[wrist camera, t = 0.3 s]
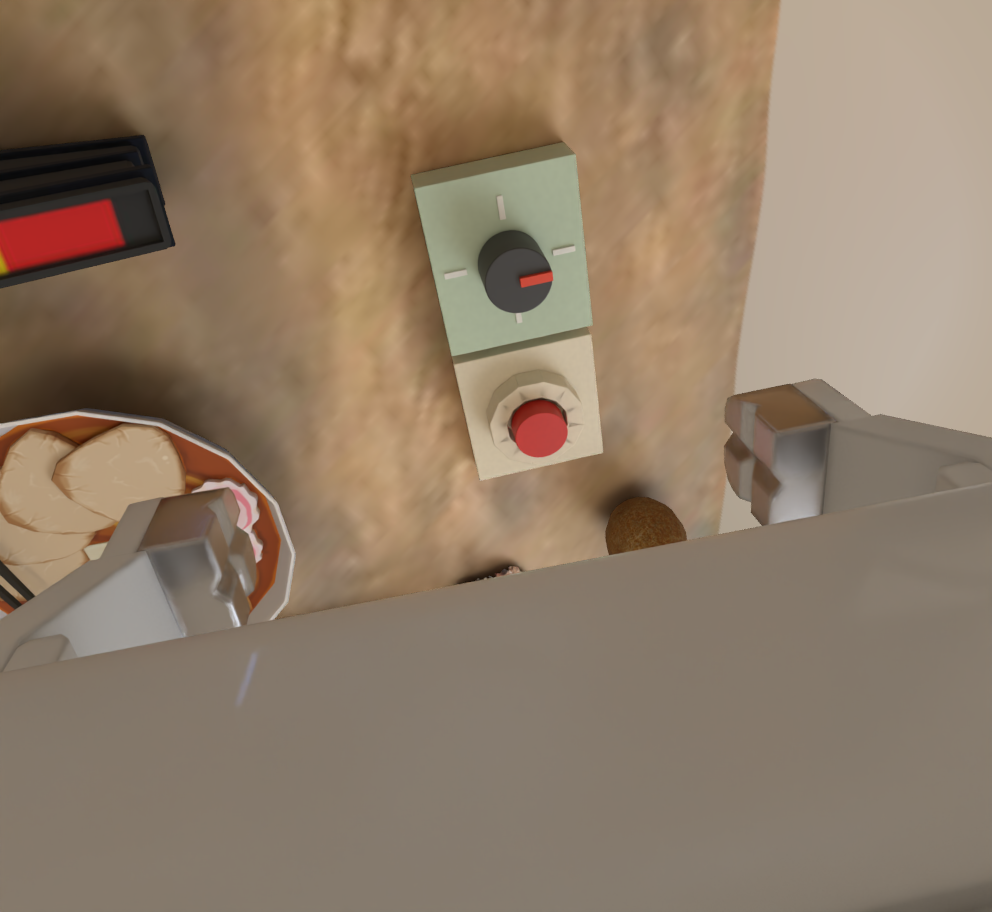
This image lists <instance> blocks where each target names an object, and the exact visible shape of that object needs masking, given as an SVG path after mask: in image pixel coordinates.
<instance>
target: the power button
mask: <svg viewBox="0 0 992 912" xmlns="http://www.w3.org/2000/svg"><path fill="white" fill-rule="evenodd" d="M511 427H512V432H513V435H514V438H515V441H516V444H517V446H518V448H519V449H520V450H521V451H522V452H523V453H524V454H526V455H528V456H531V457H546V456H549V455H552V454H553V453H555V452H557V451H558V450H559V449H560V448H561V447H562V446H563V445H564V443H565V441H566V439H567V435H568V429H567V425H566V423H565V421H564V418H563V416H562V414H561V411H560V410H559V408H558V407H557V406H556V405H555V404H553V403H551V402H549V401H546V400H534V401H530V402H528V403H526V404H524V405H522V406H521V407H520V408H519V409H518V410H517V411H516V412H515V414H514V416H513V418H512V422H511Z"/></svg>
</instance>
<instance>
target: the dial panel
mask: <svg viewBox="0 0 992 912" xmlns="http://www.w3.org/2000/svg"><path fill="white" fill-rule="evenodd" d="M411 179H412V184H413V188H414V192H415V197H416V201H417V206H418V210H419V215H420V219H421V223H422V228H423V232H424V237H425V241H426V246H427V250H428V255H429V259H430V263H431V268H432V272H433V277H434V281H435V286H436V290H437V294H438V299H439V303H440V308H441V312H442V317H443V321H444V325H445V330H446V334H447V339H448V343H449V347H450V352H451V356H457V355H461V354H466V353H470V352H475V351H479V350H484V349H488V348H493V347H497V346H502V345H506V344H511V343H515V342H520V341H524V340H529V339H533V338H538V337H542V336H547V335H551V334H556V333H560V332H565V331H569V330H574V329H578V328H583V327H587V326H592V325H593V322H592V312H591V302H590V292H589V282H588V272H587V263H586V253H585V243H584V233H583V223H582V213H581V203H580V194H579V184H578V174H577V164H576V154H575V153H574V152H573V151H572V150H571V149H570V148H569V147H568V146H567V145H566V144H565V143H564V142H562V143H557V144H552V145H548V146H543V147H539V148H534V149H529V150H525V151H520V152H515V153H511V154H506V155H501V156H497V157H492V158H487V159H483V160H478V161H473V162H469V163H464V164H459V165H455V166H450V167H446V168H441V169H436V170H432V171H427V172H422V173H418V174H413V175H411ZM508 230H516V231H521V232H524V233H526V234H528V235H529V236H531V237H532V238H533V239H534V240H535V241H536V242H537V244H538V245H539V247H540V249H541V250H542V252H543V254H544V256H545V257H546V259H547V261H548V262H549V264H550V267H551V270H552V272H553V281H552V286H551V289H550V292H549V294H548V295H547V297H546V298H545V300H544V301H543V302H542V303H541V304H540V305H538V306H537V307H536V308H534V309H532V310H530V311H527V312H523V313H509V312H506V311H503V310H501V309H499V308H497V307H496V306H495V305H494V304H493V303H492V302H491V301H490V299H489V298H488V296H487V293H486V291H485V288H484V285H483V282H482V280H481V277H480V274H479V271H478V257H479V254H480V251H481V249H482V247H483V246H484V244H485V243H486V242H487V241H488V240H489V239H490V238H491V237H493V236H494V235H496V234H498V233H500V232H503V231H508Z"/></svg>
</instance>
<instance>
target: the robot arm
mask: <svg viewBox="0 0 992 912" xmlns="http://www.w3.org/2000/svg"><path fill="white" fill-rule="evenodd" d="M725 423H726V424H727V425H728V427H729V428H730V429H731V430H732V431H733V434H732V435H731V437H730V438H729V439H728V441H727V442H726V444H725V445H724V464H725V469H726V473H727V477H728V480H729V483H730V485H731V487H732V489H733V491H734V492H735V493H736V495H737V496H738V497H739V498H740V499H743V500H746V501H749V502H751V513H752V514H753V516H754V517H755V518H756V519H757V520H758V522H759V523H760V524H761V525H762V526H760V527H755V528H750V529H744V530H739V531H734V532H729V533H724V534H718V535H713V536H708V537H703V538H698V539H692V540H687V541H682V542H677V543H672V544H666V545H661V546H656V547H651V548H646V549H640V550H635V551H630V552H625V553H620V554H614V555H609V556H604V557H599V558H593V559H588V560H583V561H578V562H573V563H567V564H562V565H557V566H552V567H547V568H541V569H536V570H531V571H526V572H521V573H515V574H510V575H505V576H500V577H495V578H489V579H484V580H479V581H474V582H468V583H463V584H458V585H453V586H448V587H442V588H437V589H432V590H427V591H422V592H416V593H411V594H406V595H401V596H396V597H390V598H385V599H380V600H375V601H369V602H364V603H359V604H354V605H349V606H343V607H338V608H333V609H328V610H323V611H317V612H312V613H307V614H302V615H297V616H291V617H286V618H281V619H276V620H270V621H265V622H260V623H255V624H250V625H247V621H248V617H249V612H250V606H249V603H248V600H247V597H248V596H249V595H250V594H251V593H252V592H253V591H254V590H255V584H256V579H257V575H256V559H255V555H254V550H253V546H252V543H251V540H250V537H249V534H248V533H246V532H245V531H244V530H242V529H241V528H239V527H238V526H237V522H238V518H239V515H240V508H239V505H238V503H237V500H236V497H235V495H234V493H233V492H232V490H231V489H230V488H229V487H225V488H219V489H212V490H206V491H200V492H194V493H188V494H182V495H176V496H170V497H165V498H164V497H159V498H155V499H150V500H146V501H141V502H136V503H132V504H129V505H128V507H127V509H126V510H125V512H124V514H123V516H122V518H121V520H120V521H119V523H118V525H117V527H116V529H115V531H114V532H113V534H112V536H111V538H110V540H109V542H108V544H107V545H106V547H105V549H104V551H103V553H102V555H101V556H100V558H99V559H96V560H91V561H88V562H87V563H85V564H84V565H82V566H81V567H79V568H78V569H76V570H74V571H73V572H71V573H70V574H68V575H67V576H65V577H64V578H62V579H61V580H59V581H58V582H56V583H55V584H53V585H52V586H50V587H49V588H47V589H46V590H44V591H43V592H41V593H40V594H38V595H37V596H35V597H34V598H32V599H31V600H29V601H28V602H26V603H25V604H23V605H22V606H20V607H19V608H17V609H16V610H14V611H12V612H11V613H9V614H8V615H6V616H5V617H3V618H2V619H0V912H992V438H991V437H986V436H981V435H977V434H972V433H967V432H962V431H957V430H953V429H948V428H943V427H939V426H934V425H929V424H924V423H920V422H915V421H910V420H905V419H901V418H896V417H891V416H886V415H881V414H880V415H875V416H871V415H870V414H868V413H867V412H866V411H864V410H863V409H861V408H860V407H859V406H857V405H856V404H854V403H853V402H852V401H851V400H849V399H848V398H847V397H845V396H844V395H842V394H841V393H840V392H838V391H837V390H835V389H834V388H833V387H831V386H830V385H829V384H827V383H826V382H825V381H823V380H821V379H811V380H807V381H803V382H798V383H794V384H786V385H781V386H776V387H771V388H766V389H761V390H757V391H752V392H747V393H742V394H737V395H733V396H731V397H729V398H727V402H726V406H725Z"/></svg>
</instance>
